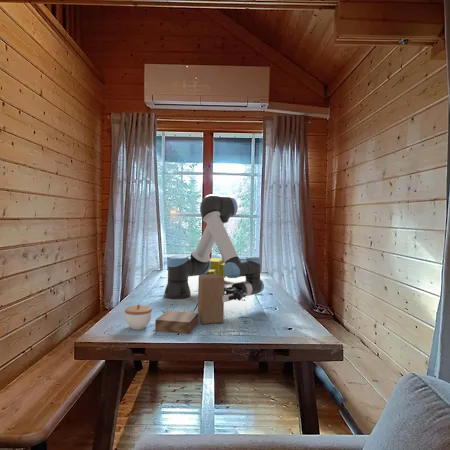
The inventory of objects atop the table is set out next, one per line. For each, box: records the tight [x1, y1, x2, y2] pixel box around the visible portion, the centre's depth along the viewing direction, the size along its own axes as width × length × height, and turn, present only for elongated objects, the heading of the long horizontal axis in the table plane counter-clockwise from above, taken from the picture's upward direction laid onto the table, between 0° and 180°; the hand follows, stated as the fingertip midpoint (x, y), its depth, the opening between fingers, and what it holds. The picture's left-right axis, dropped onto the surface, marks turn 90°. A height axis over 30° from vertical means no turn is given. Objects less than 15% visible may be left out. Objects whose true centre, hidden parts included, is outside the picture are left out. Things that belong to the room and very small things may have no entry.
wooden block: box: [197, 274, 225, 325], centre depth 152 cm, size 10×10×20 cm
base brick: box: [154, 310, 199, 335], centre depth 143 cm, size 14×14×5 cm
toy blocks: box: [203, 257, 227, 279], centre depth 239 cm, size 35×16×16 cm
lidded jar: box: [124, 303, 153, 331], centre depth 141 cm, size 11×11×9 cm
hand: (211, 296), depth 152 cm, fingers open, 13 cm apart
